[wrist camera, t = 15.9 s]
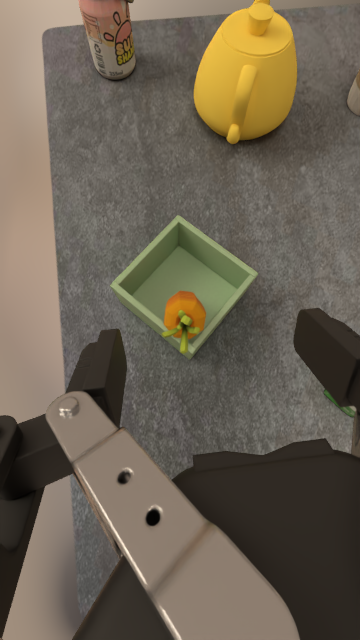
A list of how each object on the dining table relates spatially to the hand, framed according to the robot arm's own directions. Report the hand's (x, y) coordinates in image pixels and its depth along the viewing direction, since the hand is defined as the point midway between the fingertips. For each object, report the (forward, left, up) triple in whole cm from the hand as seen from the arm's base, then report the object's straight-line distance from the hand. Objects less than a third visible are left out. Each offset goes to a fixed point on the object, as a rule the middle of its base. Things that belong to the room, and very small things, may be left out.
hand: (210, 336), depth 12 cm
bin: (+4, +10, -26) cm, 29 cm away
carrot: (+4, +10, -25) cm, 27 cm away
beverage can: (+14, +60, -26) cm, 67 cm away
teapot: (+31, +40, -26) cm, 58 cm away
